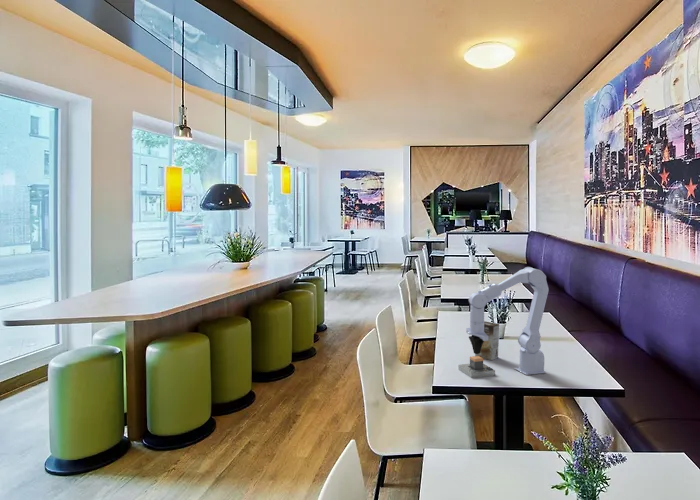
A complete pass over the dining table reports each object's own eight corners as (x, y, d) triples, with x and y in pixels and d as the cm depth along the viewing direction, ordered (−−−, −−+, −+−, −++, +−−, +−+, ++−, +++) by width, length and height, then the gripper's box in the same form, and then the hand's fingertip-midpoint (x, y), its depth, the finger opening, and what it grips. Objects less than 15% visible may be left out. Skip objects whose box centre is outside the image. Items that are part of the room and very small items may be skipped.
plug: (478, 369, 205) (478, 355, 205) (483, 372, 202) (483, 358, 201) (469, 370, 204) (469, 356, 204) (474, 373, 200) (474, 359, 200)
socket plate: (481, 366, 210) (481, 361, 209) (495, 375, 199) (495, 369, 199) (458, 369, 207) (458, 363, 207) (471, 377, 196) (471, 372, 196)
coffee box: (474, 356, 225) (474, 322, 223) (480, 353, 229) (481, 320, 228) (492, 360, 218) (493, 326, 217) (499, 357, 223) (499, 323, 222)
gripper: (460, 318, 207) (459, 349, 208) (477, 326, 193) (477, 359, 194) (474, 317, 209) (474, 348, 210) (493, 325, 195) (492, 357, 196)
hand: (476, 353), depth 202 cm, fingers closed
